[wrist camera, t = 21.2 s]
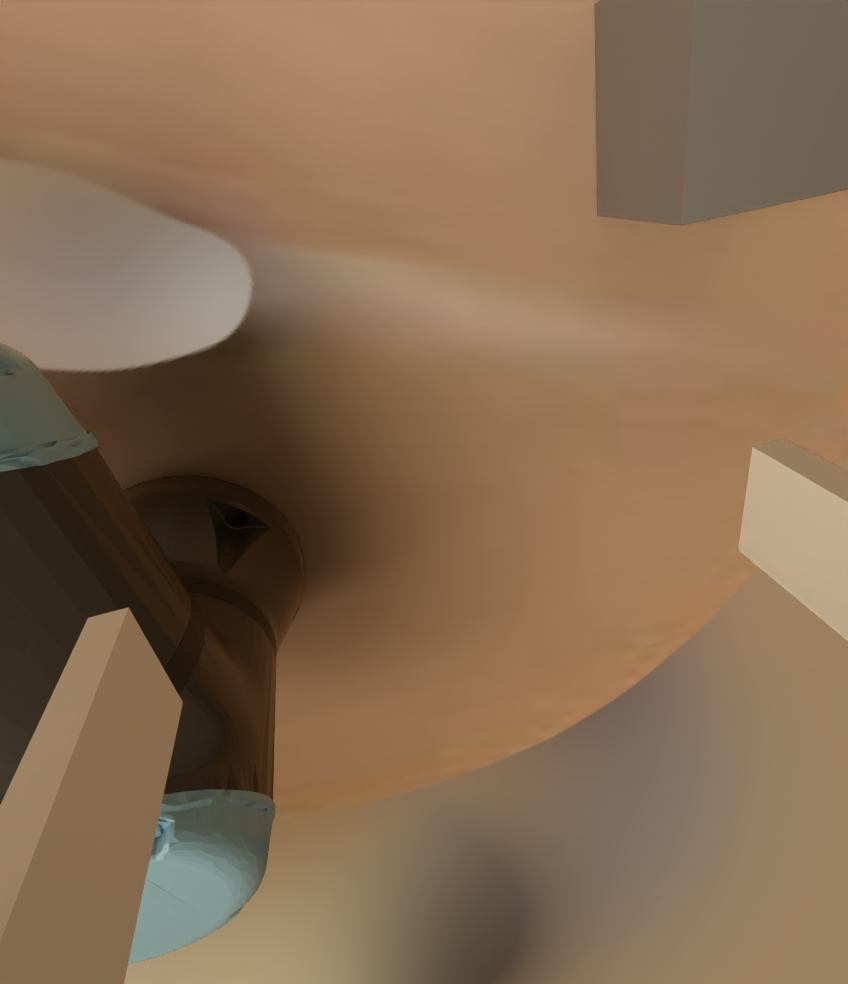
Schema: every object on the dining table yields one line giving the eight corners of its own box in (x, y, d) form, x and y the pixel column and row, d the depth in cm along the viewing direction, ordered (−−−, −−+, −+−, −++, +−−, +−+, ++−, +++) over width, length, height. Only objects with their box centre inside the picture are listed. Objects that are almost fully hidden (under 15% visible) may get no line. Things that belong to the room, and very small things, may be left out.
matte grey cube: (748, 183, 36) (870, 184, 28) (597, 215, 35) (681, 225, 28) (771, -28, 31) (927, -95, 23) (594, 4, 30) (696, -56, 22)
